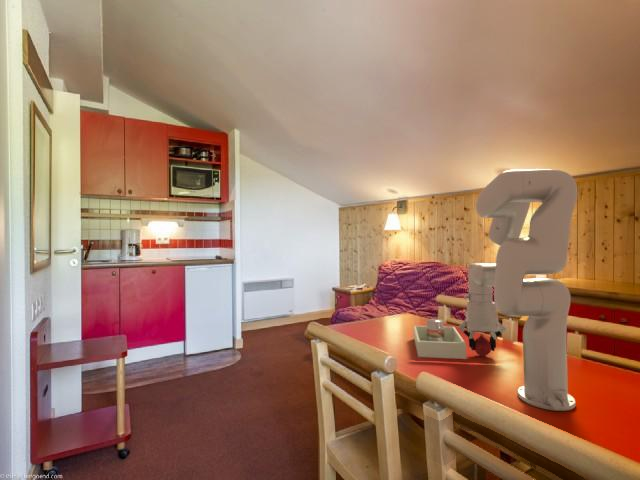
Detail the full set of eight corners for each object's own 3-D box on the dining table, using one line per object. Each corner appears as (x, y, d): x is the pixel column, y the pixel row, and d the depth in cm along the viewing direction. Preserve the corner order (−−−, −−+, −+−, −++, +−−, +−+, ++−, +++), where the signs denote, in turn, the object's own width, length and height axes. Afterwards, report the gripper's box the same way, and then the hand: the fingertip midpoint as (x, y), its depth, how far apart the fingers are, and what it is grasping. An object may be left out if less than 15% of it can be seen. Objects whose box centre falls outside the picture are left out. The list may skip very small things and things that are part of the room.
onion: (493, 360, 117) (493, 336, 117) (475, 359, 118) (475, 336, 119) (489, 354, 123) (488, 332, 123) (472, 354, 124) (471, 332, 124)
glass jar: (445, 345, 133) (444, 322, 133) (428, 345, 134) (427, 322, 134) (443, 340, 139) (442, 318, 139) (426, 340, 141) (425, 318, 141)
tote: (466, 360, 119) (465, 343, 119) (418, 358, 122) (417, 341, 122) (454, 341, 140) (454, 326, 140) (414, 340, 143) (413, 325, 143)
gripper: (456, 299, 119) (458, 352, 119) (510, 300, 116) (512, 353, 115) (452, 296, 126) (454, 345, 126) (503, 296, 123) (505, 347, 123)
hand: (482, 349), depth 121 cm, fingers closed on onion, 5 cm apart
